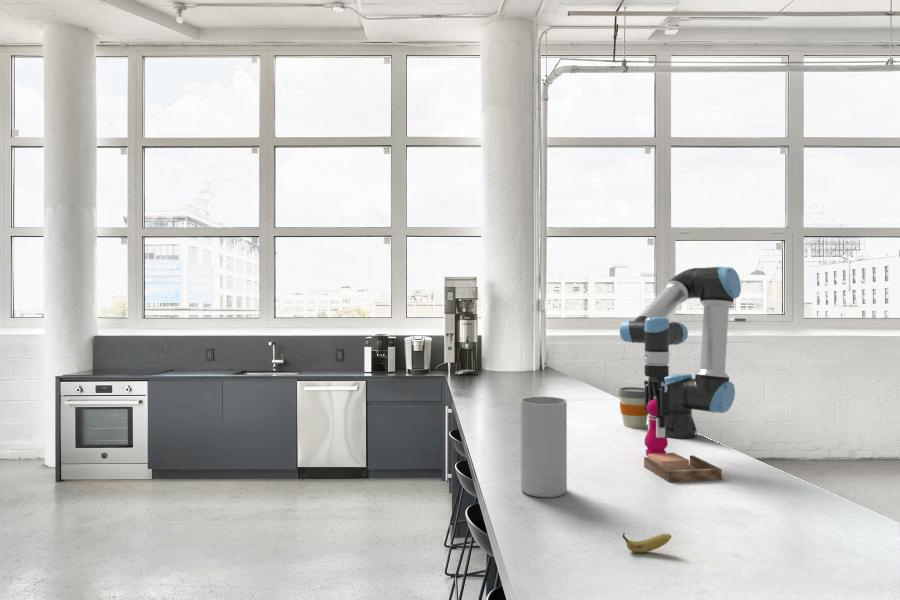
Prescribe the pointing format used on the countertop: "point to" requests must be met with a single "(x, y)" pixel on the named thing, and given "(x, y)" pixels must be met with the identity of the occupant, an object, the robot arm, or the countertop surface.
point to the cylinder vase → (544, 446)
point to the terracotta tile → (670, 460)
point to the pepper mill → (654, 432)
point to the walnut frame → (686, 471)
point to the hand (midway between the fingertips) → (656, 435)
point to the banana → (647, 543)
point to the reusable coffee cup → (633, 407)
